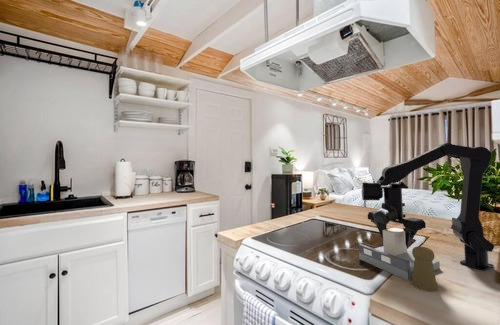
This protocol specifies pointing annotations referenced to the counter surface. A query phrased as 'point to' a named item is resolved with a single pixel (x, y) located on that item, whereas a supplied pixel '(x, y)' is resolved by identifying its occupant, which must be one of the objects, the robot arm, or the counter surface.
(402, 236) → the tea box
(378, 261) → the shelf
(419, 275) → the olive pawn
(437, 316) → the counter surface
